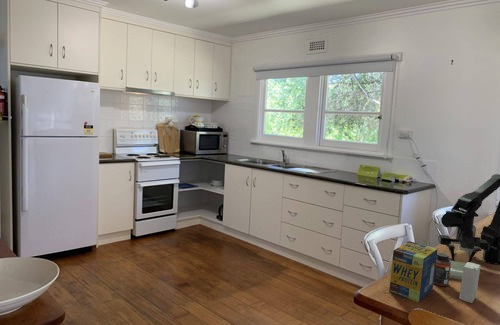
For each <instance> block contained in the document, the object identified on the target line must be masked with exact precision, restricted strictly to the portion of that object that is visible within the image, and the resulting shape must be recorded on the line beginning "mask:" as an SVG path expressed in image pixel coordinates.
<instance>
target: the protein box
mask: <svg viewBox="0 0 500 325" xmlns="http://www.w3.org/2000/svg"><path fill="white" fill-rule="evenodd" d="M437 253H438V248H436V247H432V246H429V245H425V244H421V243H418V242H414V241H410V240H409V241H406V242H405V243H403V244H402V245H400V246H398V247H397V248H394V249H393V251H392V259H391V260H392V262H391V270H390V279H389V290H388V291H389V293H392V294H394V295H396V296H400V297H403V298H406V299H408V300H411V301H413V302H416V303H420V302H421V301H422V300H423V299H424V298H425V297H426V296H427V295H428V294H430V293H431V292H432V290H433V289H434V275H435V267H436V259H437Z"/></svg>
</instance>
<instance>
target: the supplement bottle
mask: <svg viewBox="0 0 500 325" xmlns="http://www.w3.org/2000/svg"><path fill="white" fill-rule="evenodd" d="M449 258H450V255H449V254H447V253H444V252H437V259H436V267H435V275H434V283H433V285H435V286H441V287H447V286H449V282H450V278H449V277H450V268H451V262H450V261H451V260H450V261H449Z"/></svg>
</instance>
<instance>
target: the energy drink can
mask: <svg viewBox="0 0 500 325" xmlns="http://www.w3.org/2000/svg"><path fill="white" fill-rule="evenodd" d="M472 231H473V237H476V231H477V228H476V224H475V223H473V230H472ZM457 248H458V249H457V251H459V250H462V251H465V252H466V253H467V254H468V255H469V250H470V248H462V247H461V244H458V247H457Z"/></svg>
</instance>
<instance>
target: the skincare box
mask: <svg viewBox="0 0 500 325" xmlns="http://www.w3.org/2000/svg"><path fill="white" fill-rule="evenodd" d="M480 271H481V264H477V263H473V262H472V263H470V262H467V263H466V265H465V266H464V270H463V276H462V280H461V284H460V289H459V297H458V300H462V301H463V302H464V301H465V302H468V303H471V304H472V303H474V301H475V299H476V296H477V292H478V287H479V286H478V285H479V282H478V279H479V280H480Z"/></svg>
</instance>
